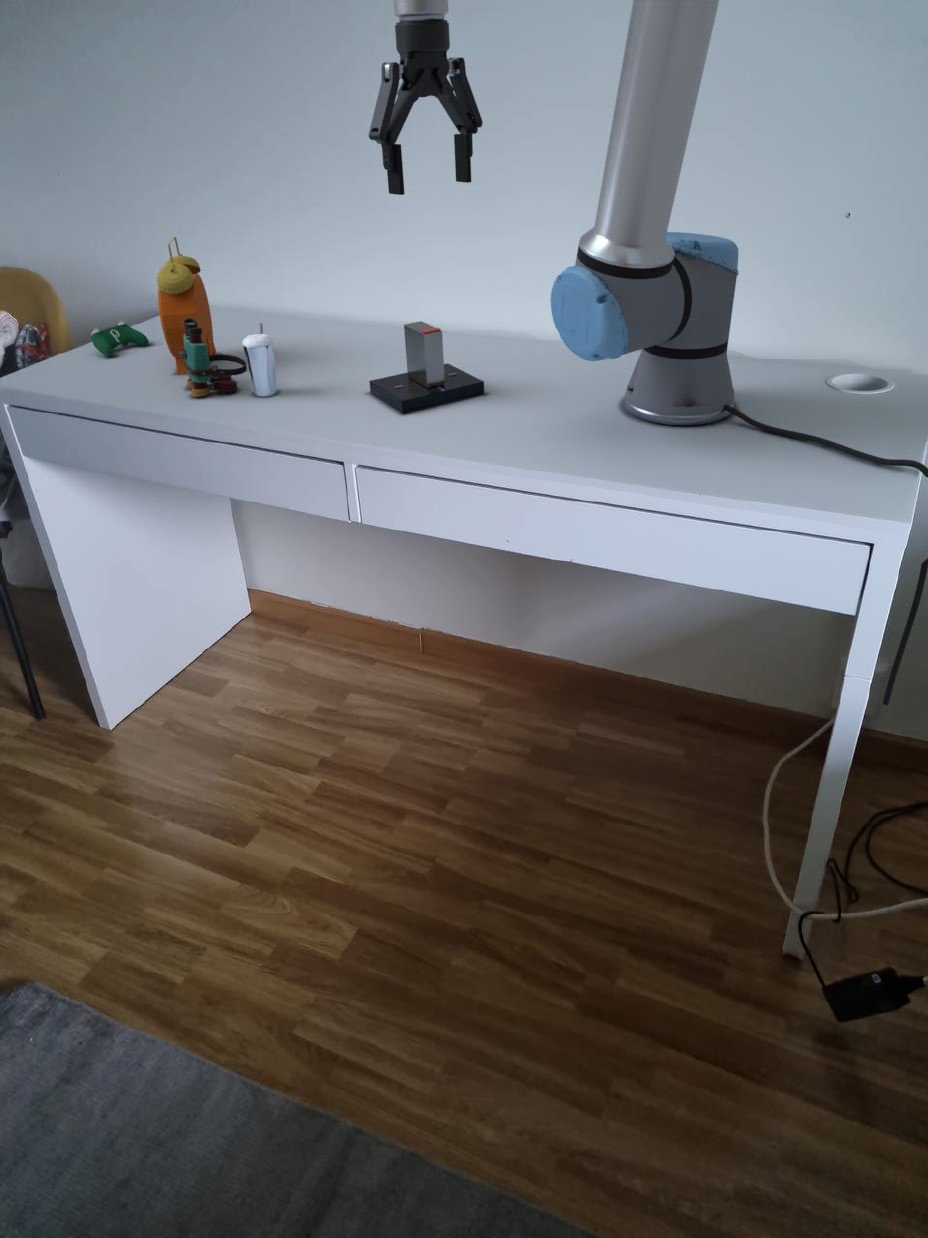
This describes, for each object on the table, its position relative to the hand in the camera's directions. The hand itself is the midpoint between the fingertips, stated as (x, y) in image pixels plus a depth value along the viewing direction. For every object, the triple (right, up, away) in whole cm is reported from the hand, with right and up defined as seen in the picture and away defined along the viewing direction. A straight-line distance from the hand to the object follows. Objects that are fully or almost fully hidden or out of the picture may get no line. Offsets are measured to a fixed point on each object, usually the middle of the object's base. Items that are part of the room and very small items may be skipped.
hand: (431, 187), depth 135 cm
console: (-1, -31, +2) cm, 31 cm away
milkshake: (-26, -30, +5) cm, 40 cm away
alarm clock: (-41, -21, +19) cm, 50 cm away
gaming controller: (-58, -16, +28) cm, 66 cm away
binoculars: (-34, -28, +8) cm, 45 cm away
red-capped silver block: (-1, -29, +1) cm, 29 cm away
